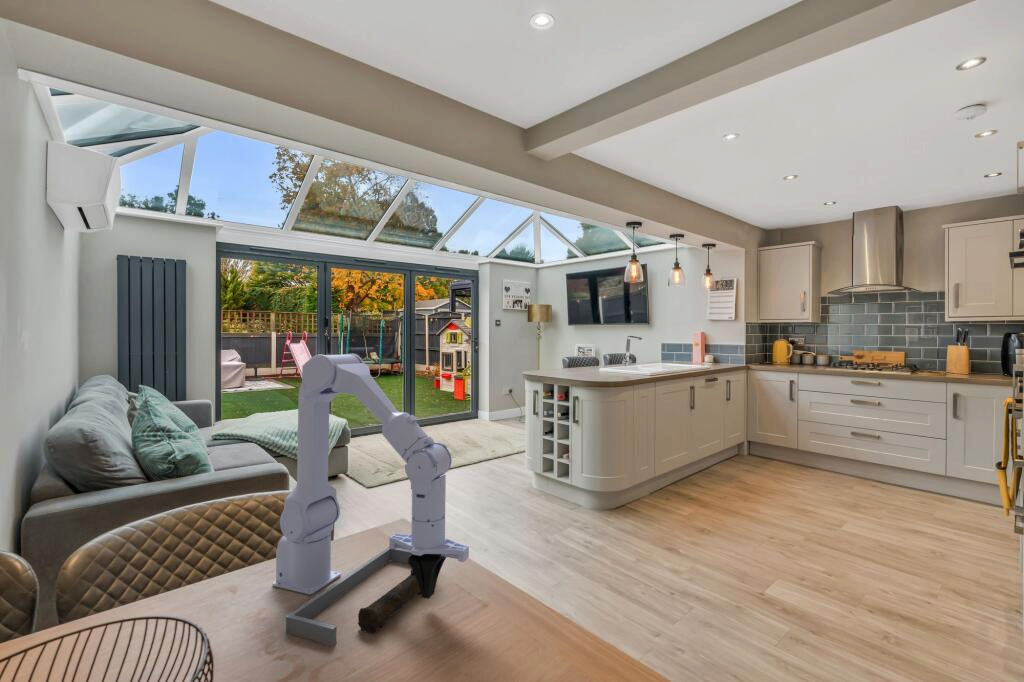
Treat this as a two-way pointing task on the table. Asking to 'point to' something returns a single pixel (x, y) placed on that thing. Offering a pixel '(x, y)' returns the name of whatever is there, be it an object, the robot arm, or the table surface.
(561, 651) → the table surface
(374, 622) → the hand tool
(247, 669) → the table surface
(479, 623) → the table surface
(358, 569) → the u-shaped bracket
